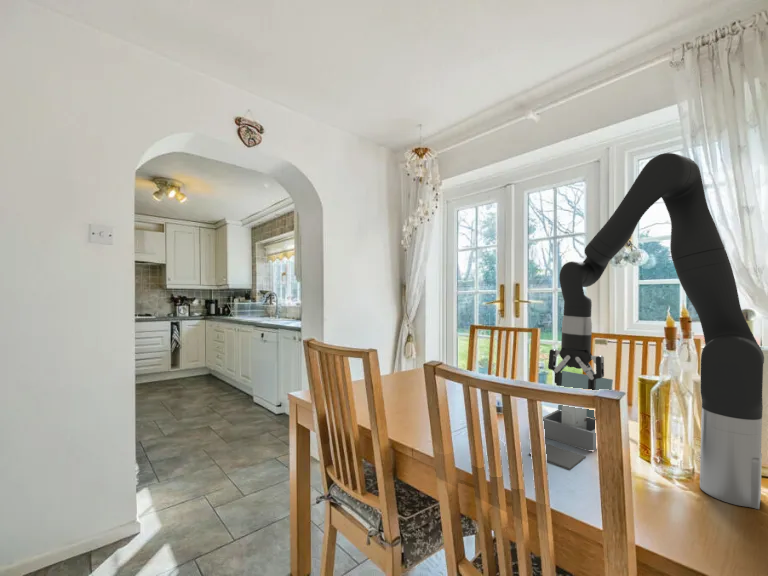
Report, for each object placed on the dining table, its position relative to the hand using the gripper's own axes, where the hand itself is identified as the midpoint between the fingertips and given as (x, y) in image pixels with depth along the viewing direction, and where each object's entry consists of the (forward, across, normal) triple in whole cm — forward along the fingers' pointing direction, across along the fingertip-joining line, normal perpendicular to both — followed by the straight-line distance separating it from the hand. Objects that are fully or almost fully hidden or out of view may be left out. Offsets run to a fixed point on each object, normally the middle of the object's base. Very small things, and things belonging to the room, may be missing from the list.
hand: (574, 388), depth 106 cm
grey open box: (+14, 0, 0) cm, 14 cm away
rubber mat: (+14, -2, +16) cm, 21 cm away
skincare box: (+14, 0, 0) cm, 14 cm away
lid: (+3, 0, -7) cm, 8 cm away
